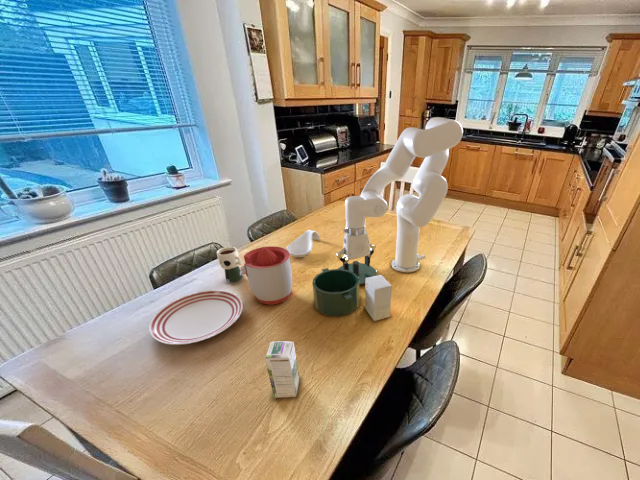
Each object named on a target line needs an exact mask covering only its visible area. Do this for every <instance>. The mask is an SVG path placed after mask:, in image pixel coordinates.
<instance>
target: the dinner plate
mask: <svg viewBox="0 0 640 480" xmlns="http://www.w3.org/2000/svg"><path fill="white" fill-rule="evenodd" d="M243 311H244V302H243V299H242V298H241V296H239V295H238V294H236V293H234V292H231V291H228V290H223V289H209V290H202V291H196V292H193V293H188V294H186V295H184V296H181V297H178V298H176V299H175V300H173V301H171V302H169V303H168V304H165V305H164V306H163V307H162V308H161V309H159V310H158V311H157V312H156V313H155V314H154V316H153V317H152V319H151V320H150V323H149V325H148V333H149V335H150V336H151V338H152V339H153V340H155V341H156V342H158V343H161V344H164V345H171V346H181V345H182V346H183V345H184V346H185V345H190V344H194V343H198V342H203V341H205V340H207V339H211V338H213V337H215V336H217V335H219V334H221V333H223V332H224V331H225V330H227V329H229V328H230V327H231V326H233V325H234V324H235V323H236V322H237V321H238V319H239V318H240V316H241V315H242V313H243Z"/></svg>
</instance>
